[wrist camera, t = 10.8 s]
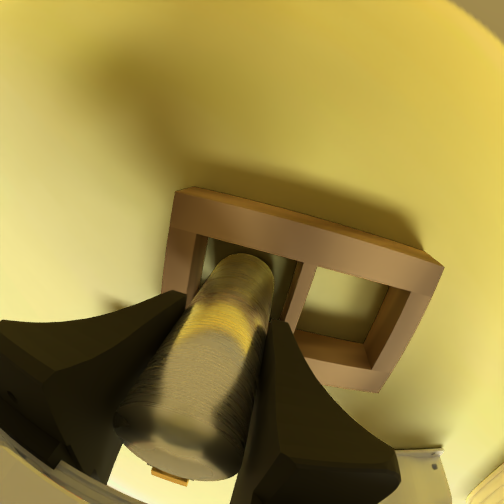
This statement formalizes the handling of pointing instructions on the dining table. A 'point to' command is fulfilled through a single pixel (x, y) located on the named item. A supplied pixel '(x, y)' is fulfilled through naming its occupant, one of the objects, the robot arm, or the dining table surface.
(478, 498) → the plate stack
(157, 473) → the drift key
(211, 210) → the frame
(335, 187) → the dining table surface
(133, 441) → the metal cylindrical peg
